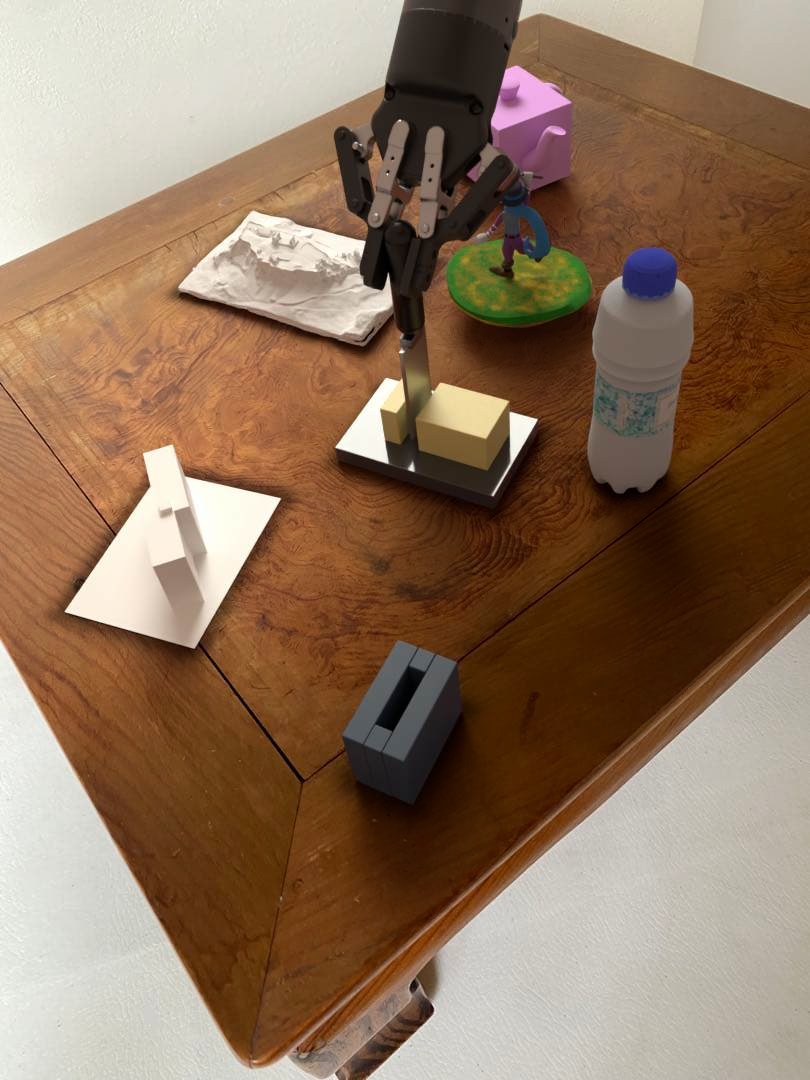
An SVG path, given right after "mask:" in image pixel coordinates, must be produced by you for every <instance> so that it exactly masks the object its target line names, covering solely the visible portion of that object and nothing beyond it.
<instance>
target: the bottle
mask: <svg viewBox="0 0 810 1080" xmlns="http://www.w3.org/2000/svg"><path fill="white" fill-rule="evenodd" d="M677 277H678V264H677V260H676V259H675V257H674V256H673V255H672V254H671V253H670V252H669V251H668V250H665V249H662V248H660V247H642V248H638V249H637V250H635V251H633V252H632V253H631V254H630V255H629V256H628V257H627V259H625V261H624V264H623V269H622V275H621V276H618V277H616V278H615V279H613V280H612V281H611V282H609V283H608V284H607V285H606V287H605V288H604V290H603V291H602V294H601V297H600V301H599V306H598V309H597V314H596V318H595V323H594V325H593V329H592V334H591V335H592V347H591V348H592V350H591V351H592V356H593V359H594V360H595V363H596V364H595V375H594V392H593V404H592V416H591V422H590V428H589V432H588V439H587V459H588V463H589V468H590V471H591V475H592V477H593V478H594V480H595V481H596V482H597V483H599V484H605V483H608V485H610V486H611V488H612V490H613V492H614V493H616V494H621V495H622V494H625V492H626V491H627V490H628V489H633V488H636V489H637V491H638V492H639V493H645V492H647V491H649V490H651V489H652V488H653V486H654V485H655V484H656V483H657V481H658V480H660V479H662V478H663V477H664V476H665V475H666V474H667V472H668V469H669V467H670V464H671V461H672V454H673V445H674V428H675V417H676V413H677V406H678V401H679V393H680V387H681V382H682V375H683V369H684V368H685V367H686V365H687V364H688V362H689V360H690V358H691V354H692V353H691V352H692V351H691V349H692V347H693V344H694V341H695V332H694V296H693V294H692V291H691V289H689V287H688V286H687V284H685V283H684V282H682V280H680V279H678V278H677Z"/></svg>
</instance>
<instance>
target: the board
mask: <svg viewBox="0 0 810 1080" xmlns="http://www.w3.org/2000/svg"><path fill="white" fill-rule="evenodd" d="M399 382H400V380H396V379H392V378H388V377H385V378H384V379H383V381H382V383H381V384H380V385H379V386H378V388H377V389H376V390H375V392H374V393H373V395H372V396H371V397H370V399H369V400H368V402H367V403H366V404H365V406H364V407H363V408H362V410H361V411H360V412H359V414H358V415H357V417H356V418H355V420H354V421H353V422H352V424H351V425H350V426H349V427H348V428H347V430H346V432H345V433H344V434H343V436H342V437H341V439H340V440H339V442H338V443H337V444H336V446H335V447H334V450H335V455H336V459H337V461H339V462H341V463H345V464H348V465H351V466H354V467H358V468H360V469H364V470H366V471H371V472H373V473H376V474H380V475H382V476H387V477H389V478H392V479H396V480H398V481H401V482H405V483H409V484H412V485H414V486H418V487H421V488H424V489H428V490H431V491H434V492H437V493H440V494H444V495H446V496H450V497H453V498H456V499H460V500H462V501H466V502H469V503H472V504H475V505H479V506H482V507H485V508H489V509H491V510H495V509H496V507H497V505H498V503H499V502H500V500H501V498H502V496H503V495H504V493H505V491H506V489H507V488H508V486H509V484H510V482H511V481H512V479H513V478H514V476H515V474H516V472H517V470H518V468H519V467H520V465H521V464H522V462H523V460H524V458H525V457H526V454H527V453H528V451H529V449H530V448H531V445H532V444H533V442H534V441H535V439H536V437H537V435H538V434H539V419H538V418H534V417H531V416H527V415H524V414H520V413H516V412H513V411H510V434H509V435H508V437H507V439H506V440H505V442H504V444H503V445H502V447H501V449H500V450H499V452H498V454H497V455H496V457H495V459H494V461H493V462H492V464H491V466H490V467H489V469H488V470H484V469H480V468H477V467H474V466H470V465H467V464H464V463H460V462H457V461H453V460H450V459H447V458H443V457H440V456H437V455H433V454H430V453H427V452H423V451H420V450H419V445H418V437H416V439H415V440H411V439H410V434H409V433H408V435H407V436H406V438H405V439H404V441H403V442H402V444H401V445H400V444H396V443H393V442H390V441H386V440H385V438H384V432H383V425H382V419H381V412H380V408H381V407H382V405H383V404H384V403H385V401H386V400H387V398H388V397H389V396H390V394H391V393H392V391H393V390H394V389H395V387H396V386H397V384H398V383H399ZM434 391H435V390H432V394H433V392H434Z"/></svg>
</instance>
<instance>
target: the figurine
mask: <svg viewBox="0 0 810 1080" xmlns="http://www.w3.org/2000/svg"><path fill="white" fill-rule="evenodd" d="M494 148H495V149H496V150H497V151H498V152H500V153H501V154H502V155H506V156H507V153H506V152H505V151H504V150H502V149H501V148H499V147H494ZM522 176H523V177H522ZM532 178H536V179H543V176H541V175H535V174H533V172H522V173H521V175H520V179H521V180H522V181H523V183H524V186H525V187H524V186H522V184H521V182H520V181H519V180H518V181H517V182H516V183H515V185H514V186H513V187H512V188H511V190H510V191H509V192H508V193H507V194H506V196H505V197H504V198H503V199H502V200H501V202H502V203H501V204H502V205H503V209H504V210H502V212H501V213H500V214H499V215H498V216H497V218H496V219H495V221H494V223H493V224H492V225H491V226H490V227H489V229H488V231H486V232H483V233H478V234H477V235H476V236H474V237H471V238H470V242H471V244H470V245H467V246H463V247H462V248H460V249H459V250H457V251H456V252H455V253H454V255H452V257H451V259H450V260H449V261H448V264H447V267H446V274H445V275H446V276H445V277H446V286H447V292H448V295H449V298H450V300H451V301H452V302H453V304H454V305H455V306H456V307H457V308H458V309H459V310H461V311H462V312H464V313H465V314H466V315H467V316H470V317H472V318H473V319H475V320H477V321H480V322H482V323H483V324H487V325H492V326H496V327H506V328H529V327H534V326H538V325H542V324H545V323H548V322H550V321H554V320H556V319H559V318H562V317H565V316H567V315H570V314H572V313H575V312H576V311H578V310H579V309H580V308H581V307H583V306H584V305H586V304H587V302H588V301H589V300H590V297H591V295H592V293H593V280H592V277H591V276H590V274H589V272H588V270H587V268H586V264H585V263H584V262H583V261H582V260H581V259H580V258H579V257H577V256H576V255H574V254H572V253H570V252H568V251H566V250H563V249H560V248H556V247H554V246H552V240H551V237H550V236H549V233H548V230H547V227H546V225H545V221H544V220H543V218H542V217H541V215H540V214H539V213H538V211H537V210H535V209H534V208H532V207H531V206H528V205H529V202H530V199H531V191H530V186H531V182H532ZM521 218H524V219H525V220H526V221H527V222H528V223H529V225H530V227H531V229H532V231H533V234H534V240H531V237H530V236H528V235H527V236H526V237H525V238H522V235H521V232H520V231H521V226H520V224H521V223H520V221H521ZM502 222H503V238H498V239H495V240H490V241H488V240H489V239H490V238H491V237H492V236H493V234H495V232H496V231H497V230H498V229H499V227H500V225H501V224H502Z"/></svg>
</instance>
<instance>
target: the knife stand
mask: <svg viewBox="0 0 810 1080" xmlns="http://www.w3.org/2000/svg"><path fill="white" fill-rule="evenodd" d="M459 672H460V671H459V664H458V662H457V661H456V660H452V659H450V658H447V657H445V656H442V655H439V654H436V653H435V652H432V651H429V650H426V649H424V648H421V647H418V646H416V645H413V644H410V643H408V642H405V641H403V640H400V639H397V640H396V642H395V644H394V645H393V647H392V650H391V651H390V653H389V654H388V656H387V658H386V659H385V661H384V662H383V664H382V665H381V668H380V669H379V671H378V673H377V675H376V676H375V678H374V680H373V681H372V683H371V684H370V686H369V688H368V690H367V691H366V694H364V697H363V698H362V700H361V702H360V704H359V705H358V707H357V708H356V710H355V712H354V713H353V715H352V717H351V718H350V720H349V722H348V724H347V725H346V727H345V729H344V730H343V732H342V734H341V738H342V741H343V742H342V743H343V745H344V749H345V751H346V755H347V758H348V761H349V762H348V763H349V765H350V768H351V771H352V775H353V779H354V781H357V782H359V783H361V784H363V785H366V786H368V787H370V788H372V789H375V790H376V791H379V792H381V793H383V794H386V795H388V796H390V797H393V798H395V799H397V800H400V801H402V802H405V803H407V804H409V805H414V804H415V802H416V800H417V798H418V796H419V794H420V793H421V790H422V788H423V787H424V786H425V783H426V781H427V780H428V777H429V775H430V773H431V771H432V770H433V768H434V766H435V764H436V762H437V760H438V758H439V756H440V754H441V753H442V751H443V748H444V747H445V745H446V742H447V741H448V739H449V737H450V735H451V733H452V731H453V729H454V728H455V725H456V724H457V722H458V719H459V718H460V715H461V713H462V711H463V702H462V694H461V684H460V674H459Z"/></svg>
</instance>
